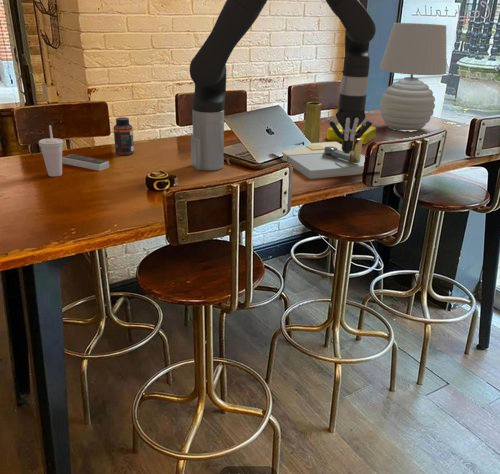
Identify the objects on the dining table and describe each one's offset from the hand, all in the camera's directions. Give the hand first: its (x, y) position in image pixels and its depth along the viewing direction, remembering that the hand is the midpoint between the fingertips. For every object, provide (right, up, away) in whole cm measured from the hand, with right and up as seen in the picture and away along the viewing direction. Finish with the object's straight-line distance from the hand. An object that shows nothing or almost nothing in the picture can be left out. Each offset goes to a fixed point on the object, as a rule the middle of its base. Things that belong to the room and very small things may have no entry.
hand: (346, 152), depth 153 cm
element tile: (+10, +12, +44) cm, 47 cm away
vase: (-6, +9, +35) cm, 37 cm away
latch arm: (0, 0, +7) cm, 7 cm away
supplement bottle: (-69, +2, +16) cm, 71 cm away
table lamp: (+35, +19, +61) cm, 72 cm away
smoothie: (-84, -7, -6) cm, 84 cm away
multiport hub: (-78, -4, +3) cm, 78 cm away
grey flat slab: (-5, -1, +13) cm, 14 cm away
